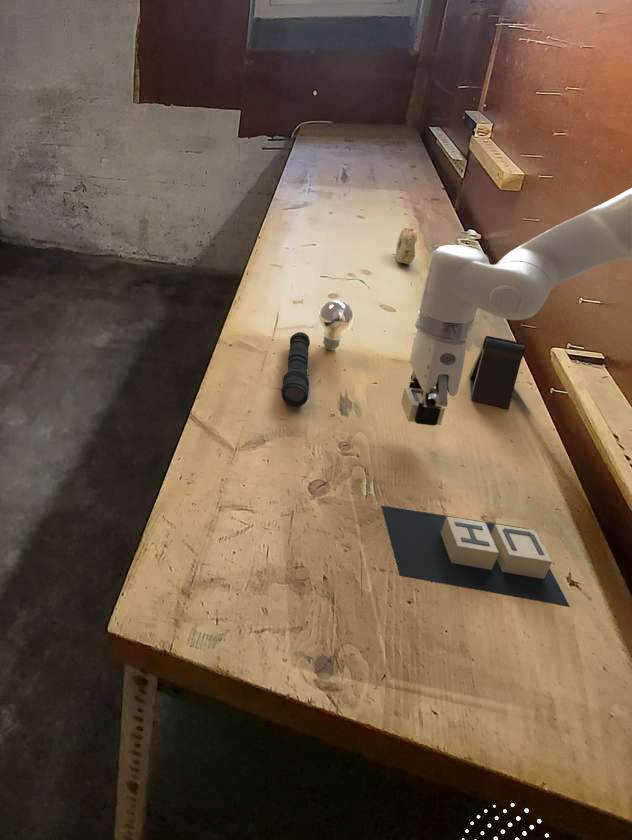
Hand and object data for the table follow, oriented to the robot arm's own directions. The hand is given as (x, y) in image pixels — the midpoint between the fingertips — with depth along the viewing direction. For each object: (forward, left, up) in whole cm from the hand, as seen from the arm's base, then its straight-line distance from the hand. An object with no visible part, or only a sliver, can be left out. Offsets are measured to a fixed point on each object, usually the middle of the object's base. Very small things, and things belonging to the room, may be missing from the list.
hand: (420, 411), depth 97 cm
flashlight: (+19, -15, -7) cm, 25 cm away
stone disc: (-16, -78, -7) cm, 80 cm away
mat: (-2, +23, -6) cm, 24 cm away
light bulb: (+10, -27, -7) cm, 30 cm away
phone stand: (-18, -17, -7) cm, 26 cm away
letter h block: (-1, +23, -6) cm, 24 cm away
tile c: (-8, +23, -6) cm, 25 cm away
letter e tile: (0, 0, 0) cm, 0 cm away
